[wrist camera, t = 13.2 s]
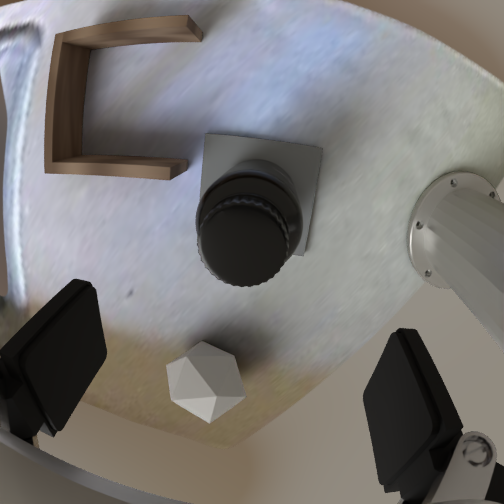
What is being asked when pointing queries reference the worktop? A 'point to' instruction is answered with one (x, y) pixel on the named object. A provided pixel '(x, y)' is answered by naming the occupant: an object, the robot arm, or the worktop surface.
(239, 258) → the supplement bottle
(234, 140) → the pad
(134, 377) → the worktop surface
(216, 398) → the die
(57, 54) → the cubby
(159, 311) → the worktop surface
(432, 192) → the robot arm
